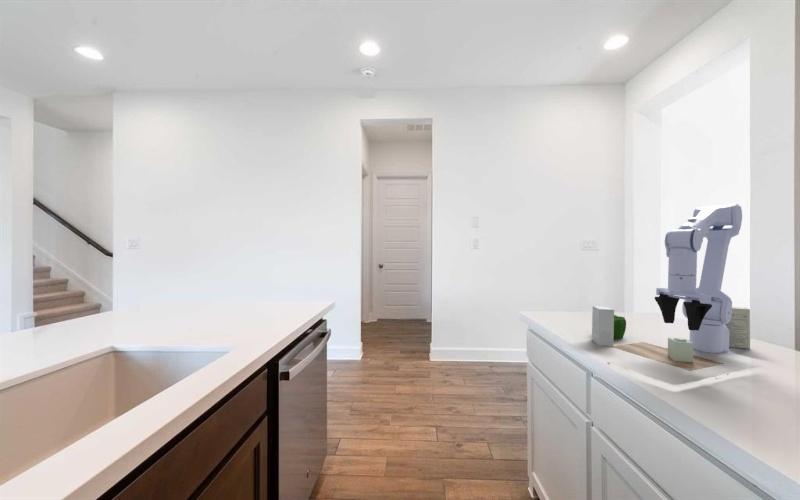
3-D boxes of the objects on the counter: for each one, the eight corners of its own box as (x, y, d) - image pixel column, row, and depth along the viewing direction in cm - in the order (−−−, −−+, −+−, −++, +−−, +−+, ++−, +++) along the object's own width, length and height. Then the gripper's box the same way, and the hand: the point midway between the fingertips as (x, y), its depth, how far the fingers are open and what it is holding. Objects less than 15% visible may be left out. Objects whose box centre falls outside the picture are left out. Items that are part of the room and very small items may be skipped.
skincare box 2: (745, 346, 106) (746, 307, 106) (750, 349, 102) (751, 309, 102) (718, 342, 109) (719, 305, 109) (721, 345, 105) (722, 307, 105)
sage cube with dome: (673, 360, 88) (674, 340, 88) (667, 355, 92) (668, 336, 92) (692, 362, 87) (693, 341, 86) (685, 357, 90) (686, 337, 90)
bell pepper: (600, 335, 117) (601, 306, 117) (628, 340, 111) (629, 310, 111) (592, 339, 111) (592, 309, 111) (621, 345, 105) (621, 313, 105)
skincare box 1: (614, 349, 100) (614, 309, 100) (598, 348, 101) (599, 309, 101) (605, 344, 106) (606, 306, 106) (591, 343, 107) (591, 305, 107)
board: (642, 345, 105) (642, 341, 105) (723, 368, 86) (723, 363, 86) (611, 350, 100) (611, 346, 100) (690, 375, 81) (690, 370, 81)
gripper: (646, 272, 96) (645, 320, 96) (691, 277, 81) (690, 333, 82) (670, 272, 96) (669, 320, 96) (720, 277, 82) (718, 333, 82)
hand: (680, 326), depth 89 cm, fingers open, 7 cm apart
